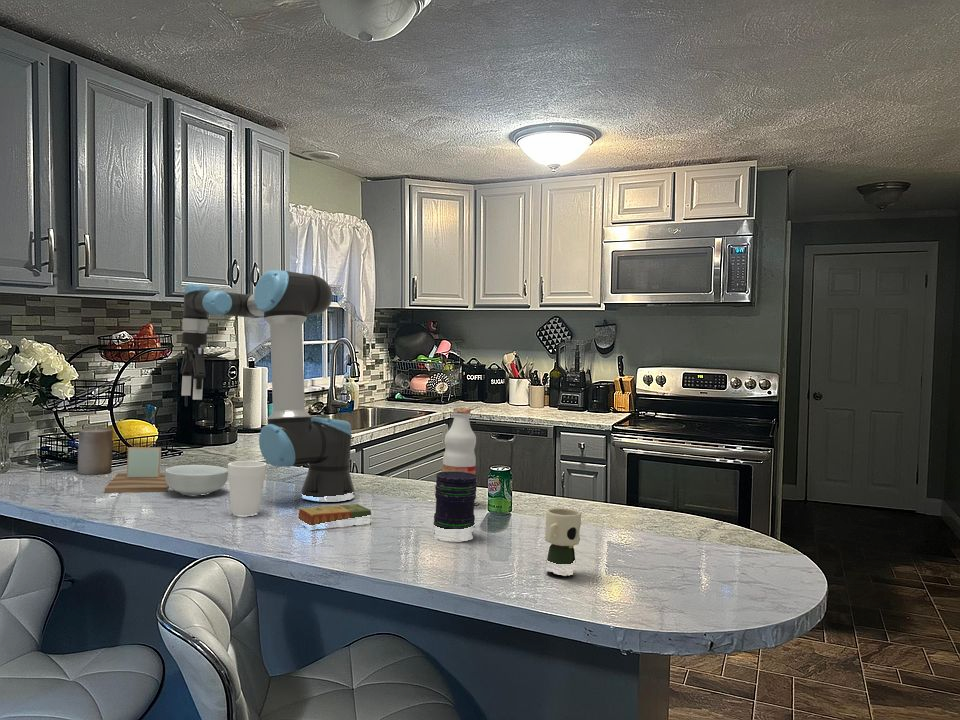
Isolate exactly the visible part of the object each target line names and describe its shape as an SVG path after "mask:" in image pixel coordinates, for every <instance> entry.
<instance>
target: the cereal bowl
mask: <svg viewBox="0 0 960 720" xmlns="http://www.w3.org/2000/svg"><path fill="white" fill-rule="evenodd" d="M227 472H228V467H224V466H223V467H222V466H218V465H207V464H182V465H174V466H170V467H168V468H166V469H165V471H164V473H165V479H166V483H167V485H168V486H169V488H170V489H171V490H173V491H176V492H179V493H180V495H182V494H183V495H182V496H184V495H201V494H207V493H210V494H211V493H213V492H216V491H218V490H220V489H221V488H223V487H224V486H225V485H226V483H227V481H228V479H229V476H228V473H227Z"/></svg>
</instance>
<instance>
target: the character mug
mask: <svg viewBox="0 0 960 720" xmlns="http://www.w3.org/2000/svg"><path fill="white" fill-rule="evenodd" d="M581 525H582V512H580V511H579V510H576V509H573V508H565V507H552V508H548V509H546V513H545V528H544V529H545V530H544V532H545V533H544V540H545V542H547V543H548V544H550V546H549V548H548V553H547V558H546V561H547V560H548V561H550V562H553V563H556V564H571V563H573V561H574V560H575V561H576V556H575V555H576V553H575V548H574V546H577V545H579V544H580V541H581V537H580V531H581Z"/></svg>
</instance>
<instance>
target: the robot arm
mask: <svg viewBox="0 0 960 720" xmlns="http://www.w3.org/2000/svg"><path fill="white" fill-rule="evenodd" d="M332 301H333V292H332V288H331V287H330V284H329V283H328V282H327V281H326V280H325V279H323V278H322V277H320V276H318V275H314V274H308V273H301V272H294V271H287V270H284V269H281V270H280V269H279V270H277V269H275V270H274V269H271V270H267V271H266V272H264V273H263V274H262V275H261V276H260V278H259V280H258V281H257V282H256V285H255V288H254V293H248V294H246V293H238V292H237V293H236V292H226V291H222V290H216V289H213V290H210V286H208V285H206V284H205V285H204V284H197V283H196V284H195V283H190V284H189V283H188V284H186V285H185V286H184V294H183V310H182V311H183V315H182V316H183V318H182V326H181V327H182V331H184V332H182V336H181V343H182V345H186V346H184V348H183V349H184V350H183V357H182V363H181V368H180V371H179V372H180V374H181V375H182V378H181V379H182V380H181V392H180V393H181V396H182V397H183V396H185V397H186V396H190V397H191V391H192V400H194V401H195V400H197V401H198V400H199V401H200V400H203V390H204V389H203V388H204V379H205V378H206V376H207V375H206V364H205V348H204V347H201V346H206V345H207V344H208V334H207V332H208V326H210V323H209V321H208V320H209V316H225V317H226V316H227V317H240V318H249V319H263V320H264V322H265V323H267V324H268V325H269V331H270V332H269V334H270V338H269V339H270V357H271V358H270V365H271V368H270V369H271V391H272V392H271V393H272V394H271V395H272V413H271V414H270V415H269V416H268V417H267V419H266V420H267V424H266V425H264V426H262V428H261V430H260V433H259V434H258V435H259V436H258V446H259V449H260V453H261V455H262V457H263V459H265V461H266V462H267V464H269V465H270V466H272V467H275V468H281V467H284V468H291V467H296V466H305V465H308V471H307V474H306V477H305V480H304V482H303V485H302V487H301V492H300V493H302V494H303V495H306V496H313V497H324V496H336V495H344V494H347V493H352V492H354V493H355V487H354V483H353V480H352V476H351V473H350V466H351V465H350V463H351V448H352V447H351V446H352V437H353V435H352V425H351V423H350V422H349V421H348V420H342V419H337V418H327V417H321V416H311V414H310V413H309V412H308V411H307V410H306V403H305V401H306V399H305V397H306V396H305V378H304V377H305V376H304V374H305V373H304V349H303V348H304V347H303V344H304V343H303V324H304V323H305V322H306V320H307V319H308V316H315V315H316V316H317V315H320V314H323V313H324V312H326V311H327V310H328V309H329V308H330V306H331V304H332ZM192 371H193V372H192ZM193 374H194V375H193ZM192 380H193V385H192ZM192 386H193V387H192ZM191 389H192V390H191Z"/></svg>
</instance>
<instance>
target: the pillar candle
mask: <svg viewBox="0 0 960 720" xmlns="http://www.w3.org/2000/svg"><path fill="white" fill-rule="evenodd" d="M113 435H114V432H113V428H110V427H109V428H108V427H98V425H96V426H95V427H88V428H87V427H86V428H81V429H78V445H77V447H78V449H77V474H81V475H85V476H86V475H87V476H92V475H93V476H96V475H104V474H109V473H112V472H113V471H112V467H113V466H112V464H113V441H114V440H113V438H114V437H113Z"/></svg>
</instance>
